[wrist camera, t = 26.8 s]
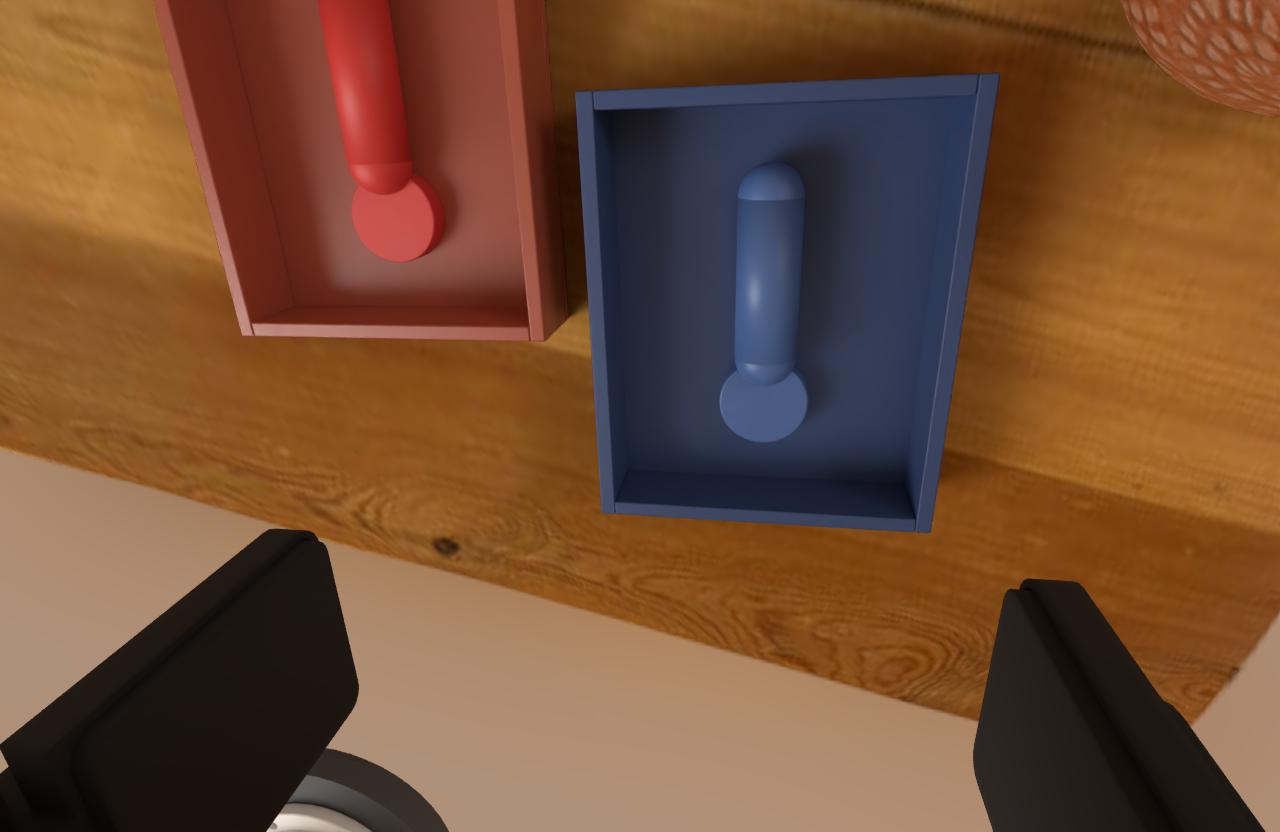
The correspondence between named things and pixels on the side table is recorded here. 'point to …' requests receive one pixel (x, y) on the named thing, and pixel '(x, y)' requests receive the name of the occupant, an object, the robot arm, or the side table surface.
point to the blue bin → (829, 291)
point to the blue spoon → (767, 307)
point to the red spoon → (377, 132)
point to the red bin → (323, 186)
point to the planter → (1215, 47)
